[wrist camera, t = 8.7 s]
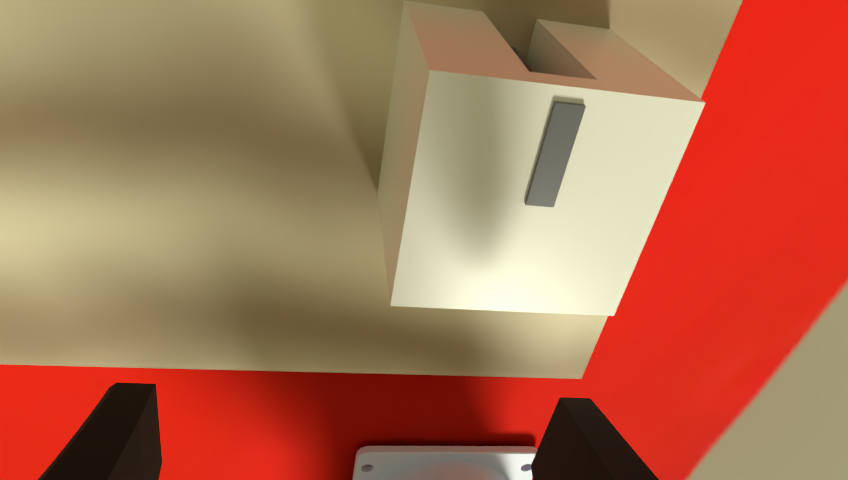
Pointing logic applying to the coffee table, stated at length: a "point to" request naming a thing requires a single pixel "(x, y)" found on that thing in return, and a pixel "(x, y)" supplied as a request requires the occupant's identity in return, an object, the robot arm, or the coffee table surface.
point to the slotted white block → (523, 164)
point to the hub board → (249, 185)
